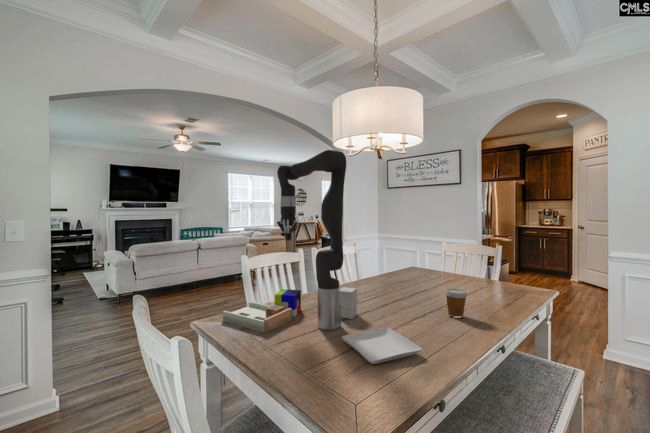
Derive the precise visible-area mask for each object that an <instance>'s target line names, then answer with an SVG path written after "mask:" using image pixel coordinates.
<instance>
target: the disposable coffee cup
mask: <svg viewBox="0 0 650 433" xmlns="http://www.w3.org/2000/svg"><path fill="white" fill-rule="evenodd" d="M445 296H446V298H445V299H446V305H447V312H448V313H447V314H449V315H452V316H463V317H464V311H465V305H466V299H467V296H468V294H467V291H465V290H464V289H460V288H447V289H446V291H445ZM449 315H448V316H449Z"/></svg>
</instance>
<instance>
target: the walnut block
mask: <svg viewBox="0 0 650 433" xmlns="http://www.w3.org/2000/svg"><path fill="white" fill-rule="evenodd" d="M269 306H270V307H267V308H266V317H267V318H268V317H271V316H273V315H275V314H277V313H279V312H282V311H284V310H285V307H283V306H279V305H275V304H272V305H269Z"/></svg>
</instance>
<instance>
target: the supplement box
mask: <svg viewBox="0 0 650 433" xmlns="http://www.w3.org/2000/svg"><path fill="white" fill-rule="evenodd" d="M339 304H341V319H342V318H343V319H344V318H345V319H350V320H353V319H354V318H355V317H356V316H357V315H358V292H357V288H354V287H353V288H352V287H345V286H343V287H341V288H339Z"/></svg>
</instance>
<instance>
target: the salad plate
mask: <svg viewBox="0 0 650 433" xmlns="http://www.w3.org/2000/svg"><path fill="white" fill-rule="evenodd" d="M341 337H342V340H343V341H344V342H345V343H346V344H347V345H348V346H350V347H351V348H353V349H354V350H355V351H356V352H357V353H358V354H359V355H360V356H362V357H363V359H365V360H366V361H367V362H368V363H369V364H371V365H378V364H382V363H384V362H390V361H394V360H397V359H402V358H406V357H410V356H414V355H416V354H419V353H420V352H421V351H422V347H420V346H419V345H418V344H416V343H414V342H412V341H411V340H409V339H408V338H407V337H405V336H403V335H401V334H399V332H397V331H395V330H394V329H392V328H390V327H388V326H386V327H380V328H376V329H375V328H374V329H370V330H366V331H365V330H364V331H360V332H355V333H352V334H351V333H350V334H346V335H342V336H341Z"/></svg>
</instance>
